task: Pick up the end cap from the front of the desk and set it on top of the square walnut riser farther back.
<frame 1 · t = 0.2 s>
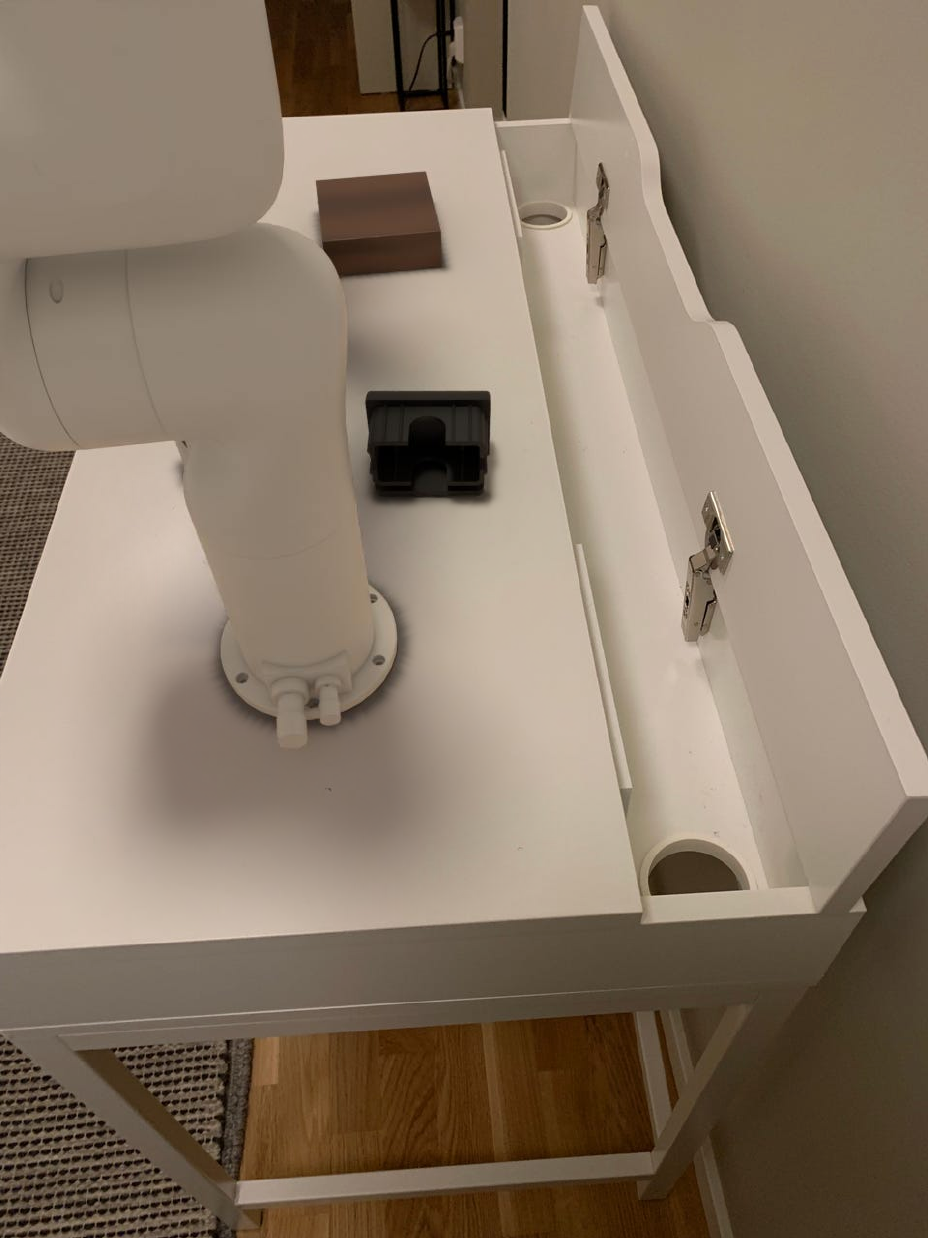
riser: (379, 240, 95), on the table
mug: (272, 357, 84), on the table
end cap: (430, 467, 75), on the table
ink box: (241, 463, 75), on the table
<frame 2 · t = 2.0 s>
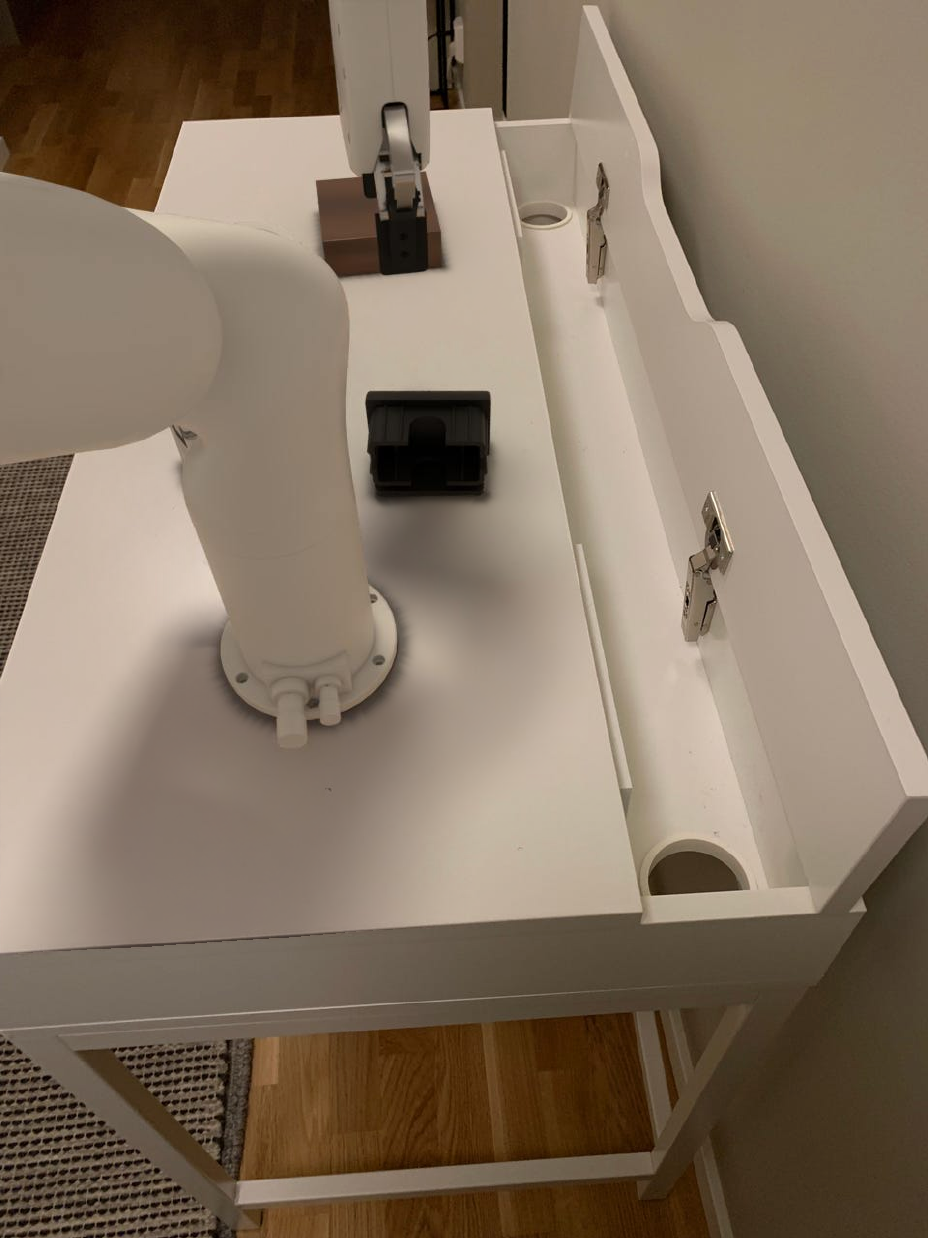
hand: (394, 231, 61), 19 cm above the table, tool pointing down, fingers open, 9 cm apart
nothing on the table moved.
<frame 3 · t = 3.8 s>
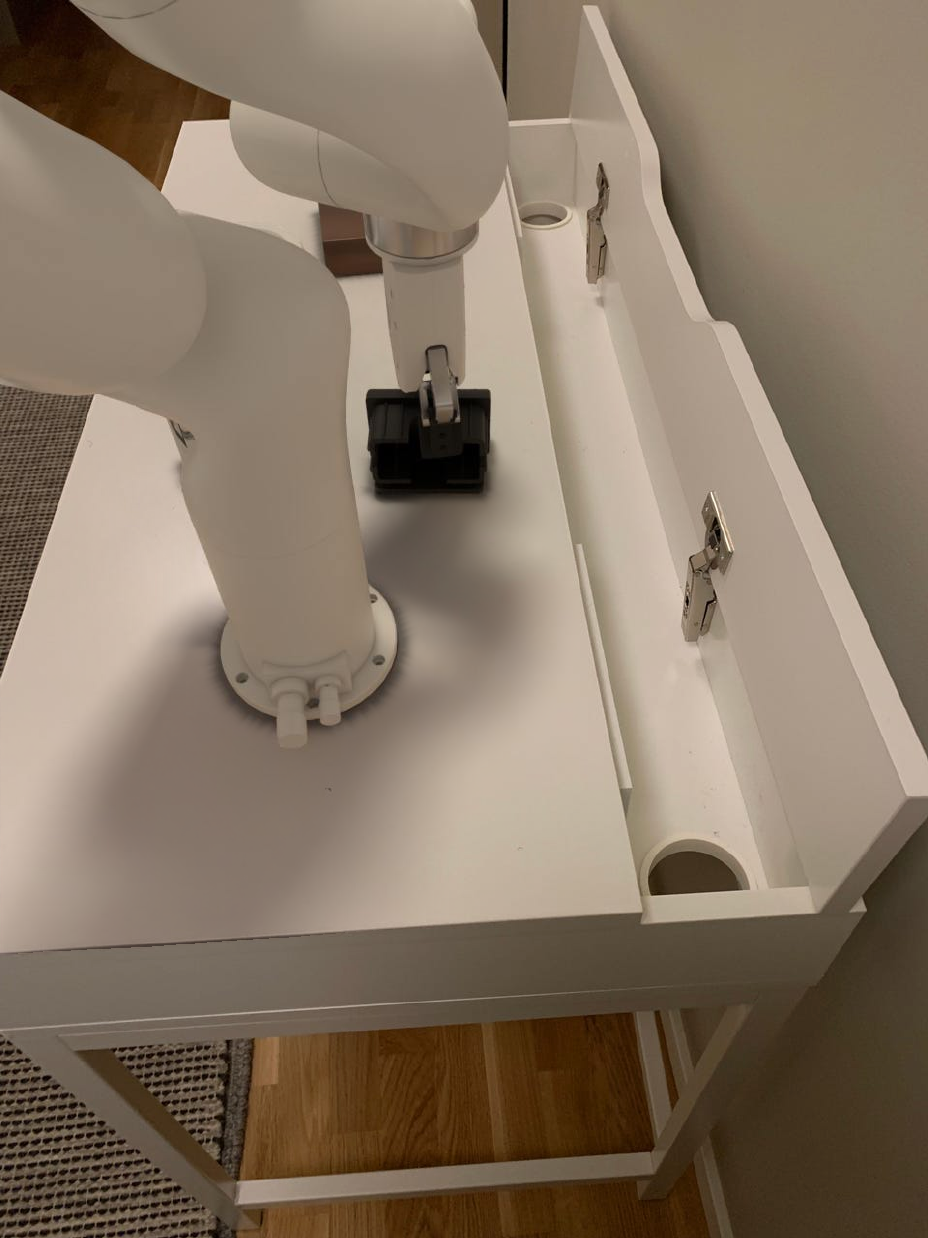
hand: (433, 411, 71), 5 cm above the table, tool pointing down, fingers open, 9 cm apart
nothing on the table moved.
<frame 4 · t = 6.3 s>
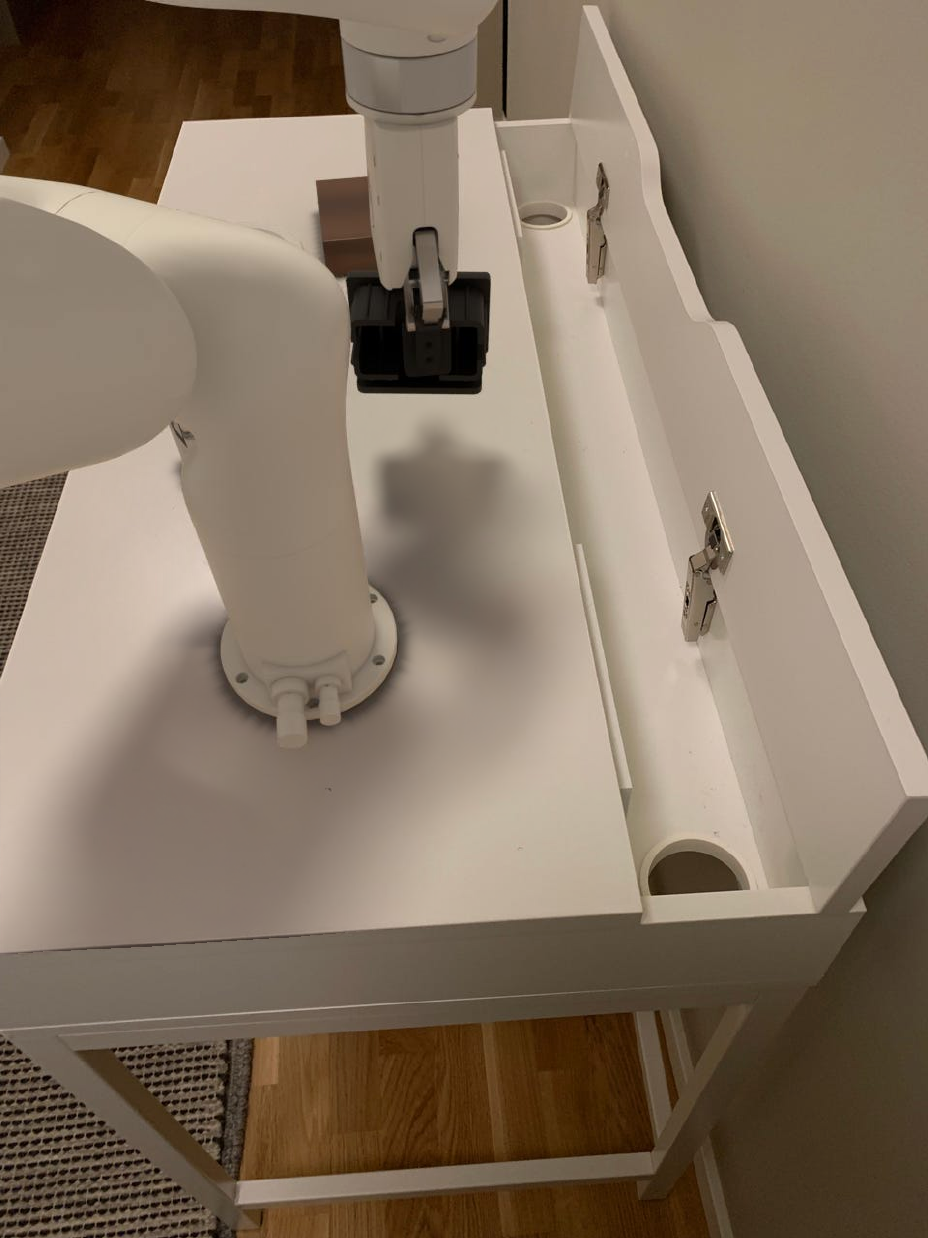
hand: (420, 335, 63), 14 cm above the table, tool pointing down, fingers closed on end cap, 7 cm apart
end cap: (421, 366, 66), point 11 cm above the table, touching gripper
everything else where it was.
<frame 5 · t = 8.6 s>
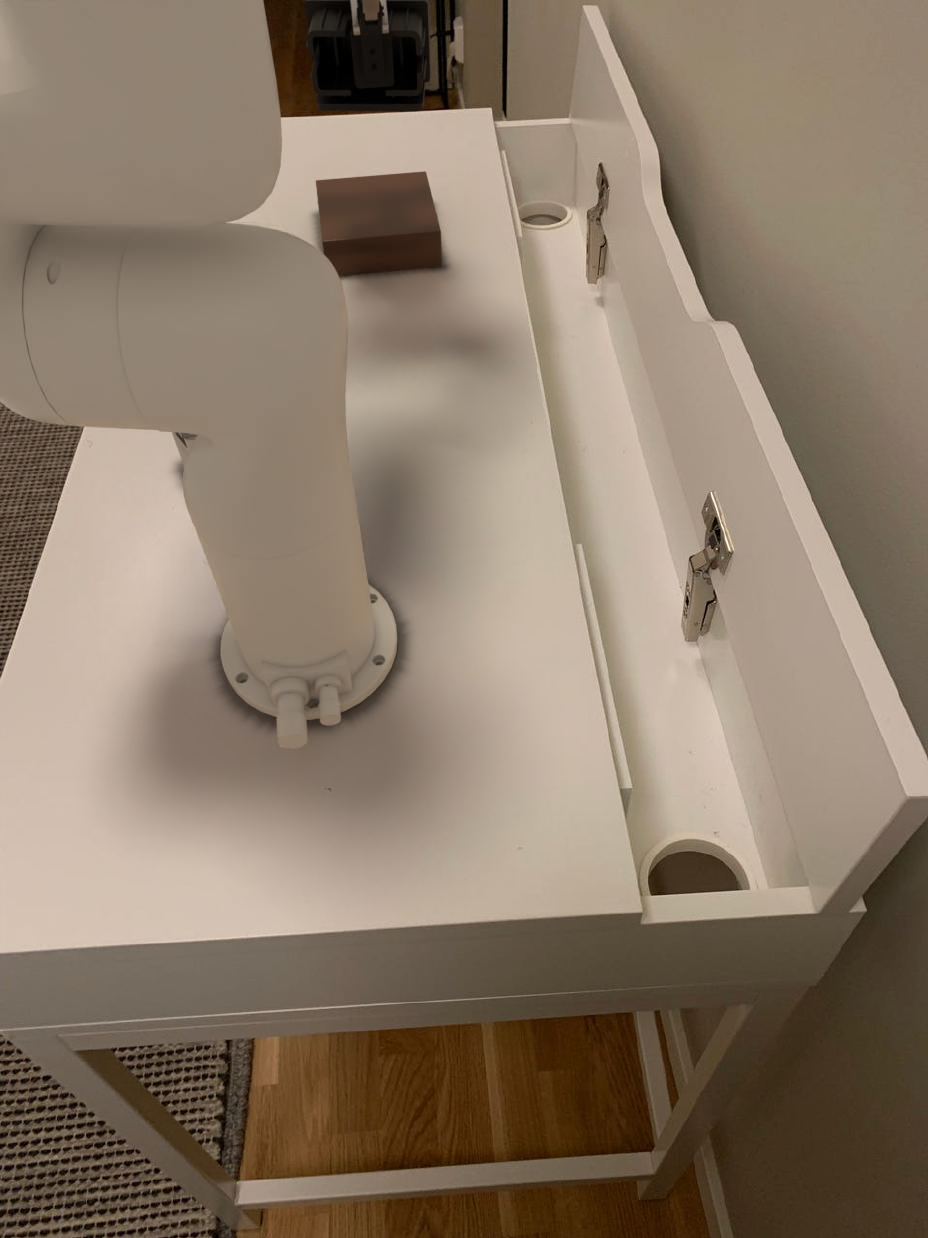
hand: (370, 61, 74), 20 cm above the table, tool pointing down, fingers closed on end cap, 7 cm apart
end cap: (373, 94, 77), point 18 cm above the table, touching gripper
everything else where it was.
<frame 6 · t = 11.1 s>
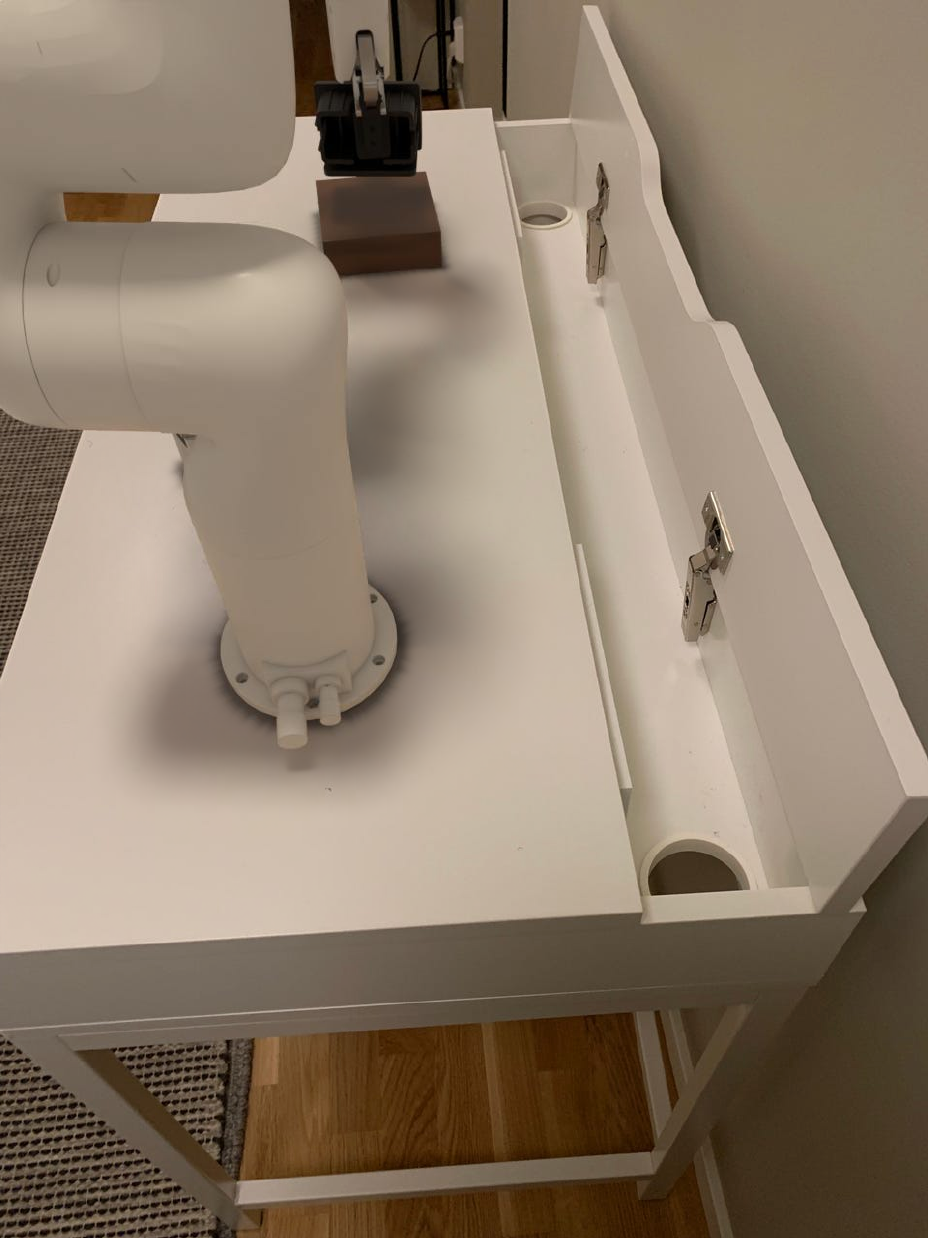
hand: (370, 134, 86), 11 cm above the table, tool pointing down, fingers closed on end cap, 7 cm apart
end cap: (372, 161, 88), point 8 cm above the table, touching gripper
everything else where it was.
when the fingers open (6 cm above the table, at t = 12.9 s): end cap stays where it is, resting on riser.
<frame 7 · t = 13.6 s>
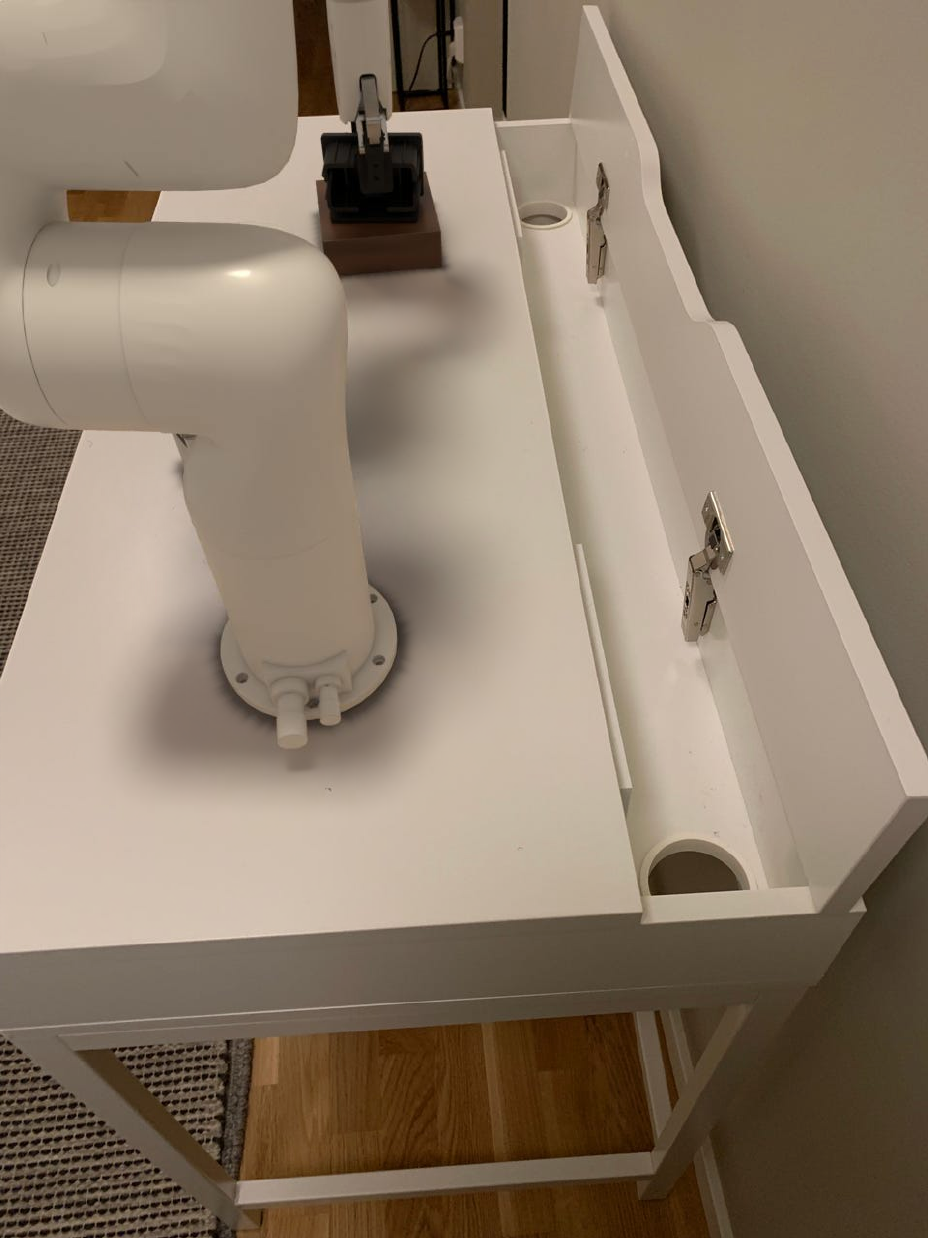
hand: (372, 166, 88), 8 cm above the table, tool pointing down, fingers open, 9 cm apart
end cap: (376, 206, 92), point 4 cm above the table, touching riser
everything else where it was.
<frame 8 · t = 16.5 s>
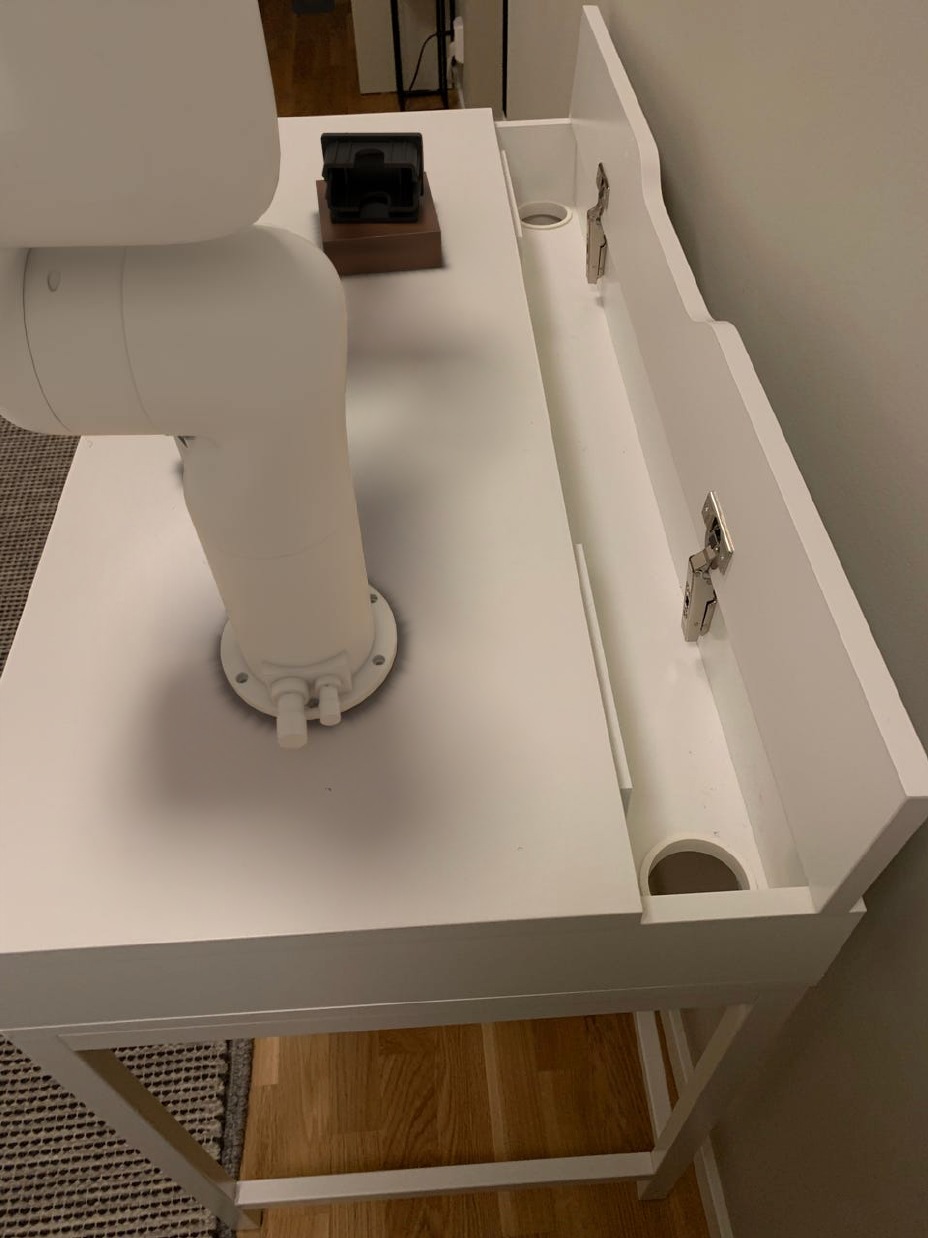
nothing on the table moved.
at the end: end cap inside the target area on the riser (0.1 cm from its centre), point 3.8 cm above the riser's base; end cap tilted 0°; the gripper is holding nothing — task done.
